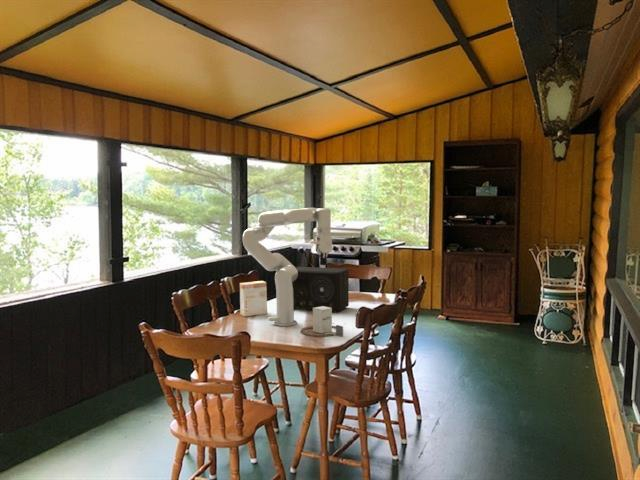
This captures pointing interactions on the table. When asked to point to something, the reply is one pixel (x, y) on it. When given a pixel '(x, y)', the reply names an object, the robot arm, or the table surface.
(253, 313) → the coffeecake box
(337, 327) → the collar
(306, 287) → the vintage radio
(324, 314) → the supplement box
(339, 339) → the table surface
